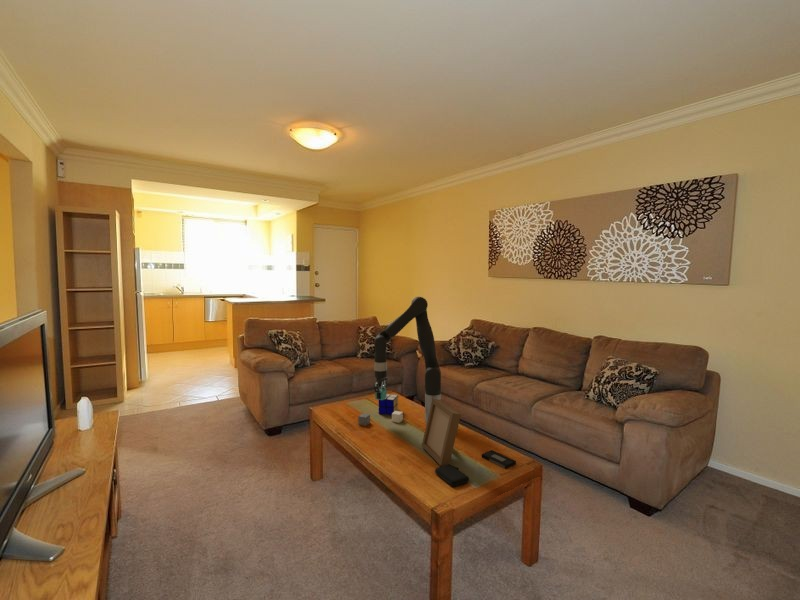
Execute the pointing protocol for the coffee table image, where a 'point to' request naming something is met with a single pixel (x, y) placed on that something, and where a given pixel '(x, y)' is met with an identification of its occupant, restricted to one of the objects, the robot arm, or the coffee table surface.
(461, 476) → the carrying case or bag
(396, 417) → the off-white block
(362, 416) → the charcoal block
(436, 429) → the photo frame
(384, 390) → the teal block
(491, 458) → the vhs tape
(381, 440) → the coffee table surface
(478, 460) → the coffee table surface
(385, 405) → the puzzle cube
